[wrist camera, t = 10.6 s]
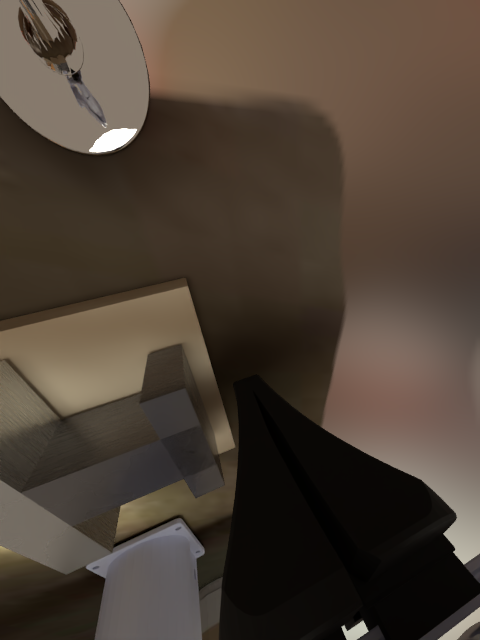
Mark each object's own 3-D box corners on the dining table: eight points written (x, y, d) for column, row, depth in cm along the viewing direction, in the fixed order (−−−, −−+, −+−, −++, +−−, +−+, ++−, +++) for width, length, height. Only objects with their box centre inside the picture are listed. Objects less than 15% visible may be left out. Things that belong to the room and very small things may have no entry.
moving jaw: (219, 447, 13) (230, 498, 11) (87, 501, 12) (66, 574, 9) (171, 315, 8) (171, 353, 6) (-64, 378, 7) (-190, 462, 4)
